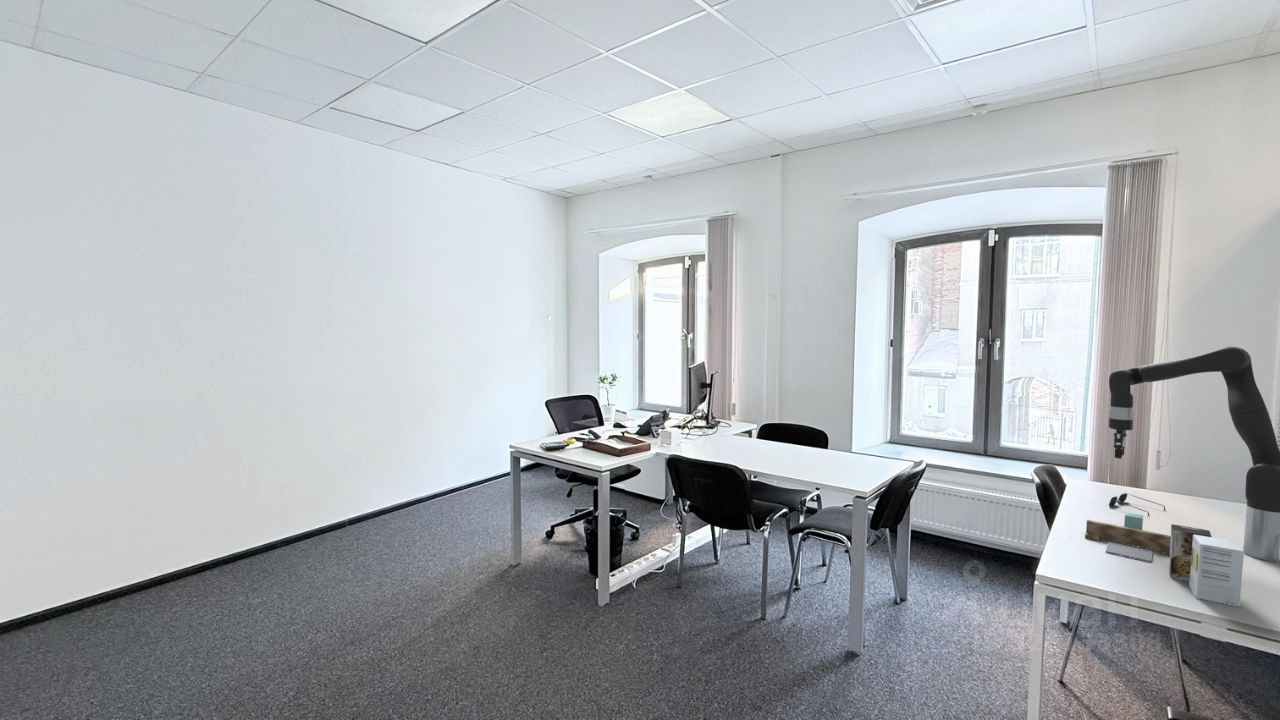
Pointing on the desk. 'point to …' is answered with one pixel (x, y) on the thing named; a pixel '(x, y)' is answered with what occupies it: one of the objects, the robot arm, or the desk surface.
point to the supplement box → (1216, 570)
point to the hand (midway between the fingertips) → (1119, 456)
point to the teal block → (1133, 521)
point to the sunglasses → (1123, 498)
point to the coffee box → (1182, 550)
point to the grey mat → (1129, 551)
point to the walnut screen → (1128, 536)
